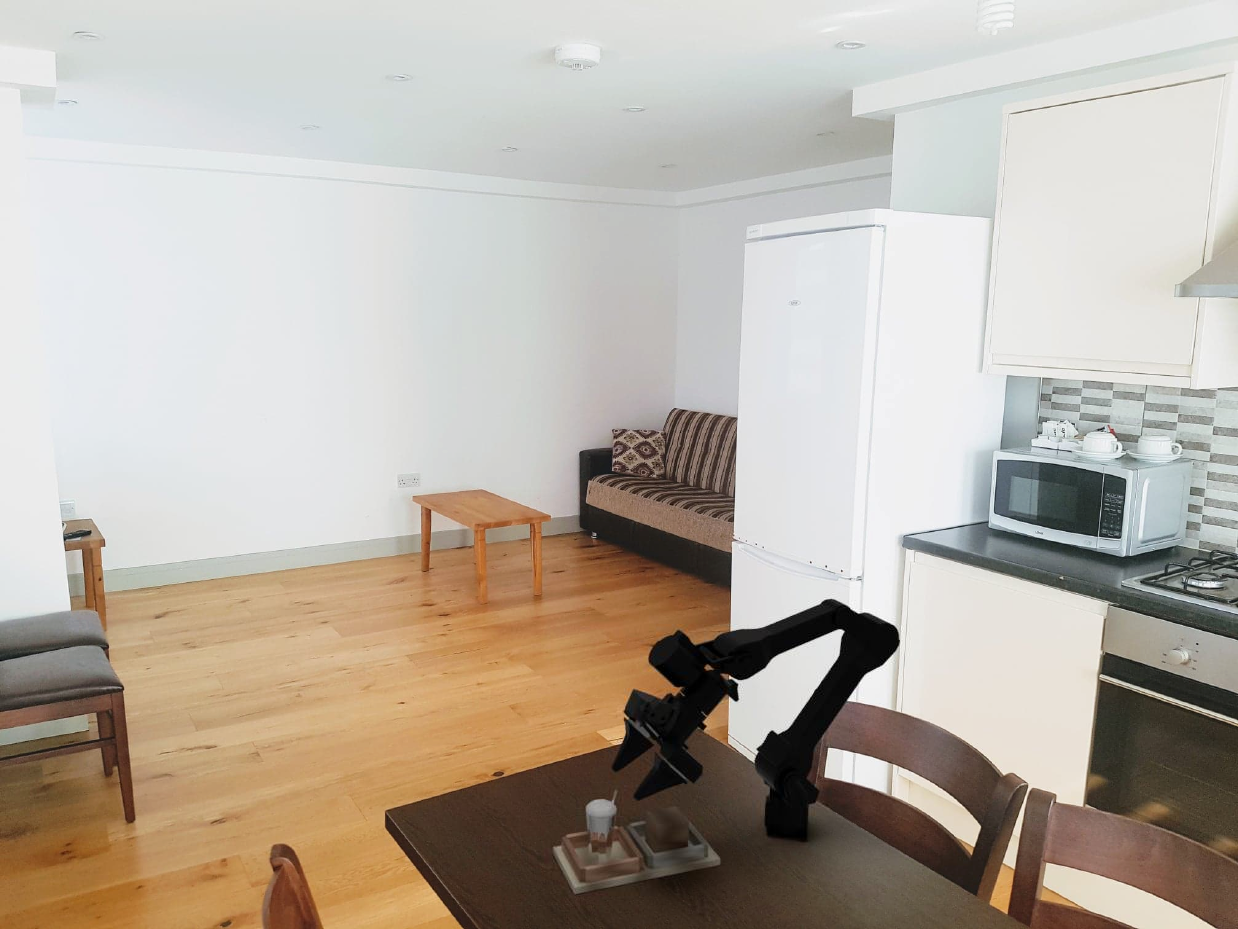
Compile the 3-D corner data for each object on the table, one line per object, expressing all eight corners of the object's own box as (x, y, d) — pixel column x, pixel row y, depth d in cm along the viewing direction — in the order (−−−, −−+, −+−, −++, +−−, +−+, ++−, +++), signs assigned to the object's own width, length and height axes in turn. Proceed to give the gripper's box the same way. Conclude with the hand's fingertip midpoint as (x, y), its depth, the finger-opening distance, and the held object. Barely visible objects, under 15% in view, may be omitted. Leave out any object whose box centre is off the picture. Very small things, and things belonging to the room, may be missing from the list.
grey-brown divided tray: (689, 828, 150) (690, 793, 150) (720, 864, 140) (721, 827, 139) (552, 853, 143) (553, 816, 142) (574, 894, 132) (575, 855, 131)
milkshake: (626, 858, 140) (627, 795, 138) (599, 872, 136) (600, 808, 135) (605, 845, 143) (606, 784, 142) (579, 859, 139) (579, 796, 138)
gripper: (636, 652, 147) (568, 728, 145) (684, 696, 130) (609, 783, 127) (680, 693, 151) (616, 767, 149) (733, 741, 133) (661, 826, 131)
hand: (624, 784), depth 139 cm, fingers open, 9 cm apart
